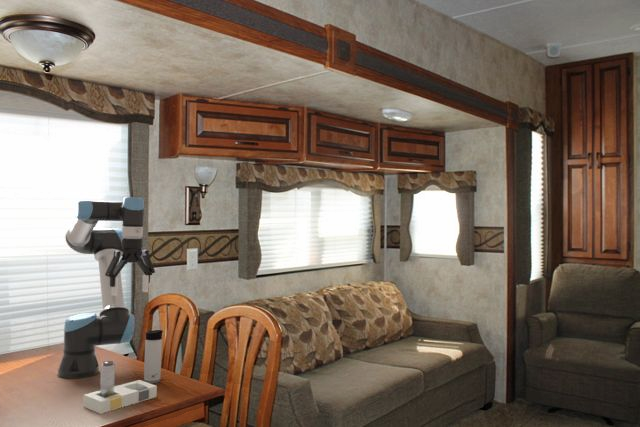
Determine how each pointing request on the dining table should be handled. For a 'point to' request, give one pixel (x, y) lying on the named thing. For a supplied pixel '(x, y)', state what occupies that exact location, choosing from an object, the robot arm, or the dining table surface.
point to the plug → (107, 379)
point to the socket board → (120, 396)
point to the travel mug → (153, 356)
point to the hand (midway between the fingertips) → (130, 293)
